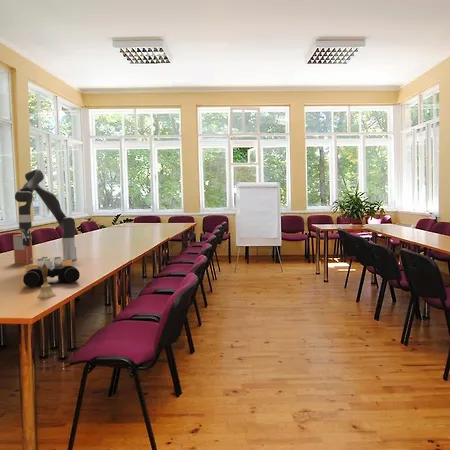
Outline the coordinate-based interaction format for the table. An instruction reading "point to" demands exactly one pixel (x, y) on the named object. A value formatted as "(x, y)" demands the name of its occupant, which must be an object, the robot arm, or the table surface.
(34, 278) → the binoculars
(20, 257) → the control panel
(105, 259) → the table surface
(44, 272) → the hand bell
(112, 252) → the table surface
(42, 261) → the knob
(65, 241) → the robot arm
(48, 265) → the levelling plate
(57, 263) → the knob
